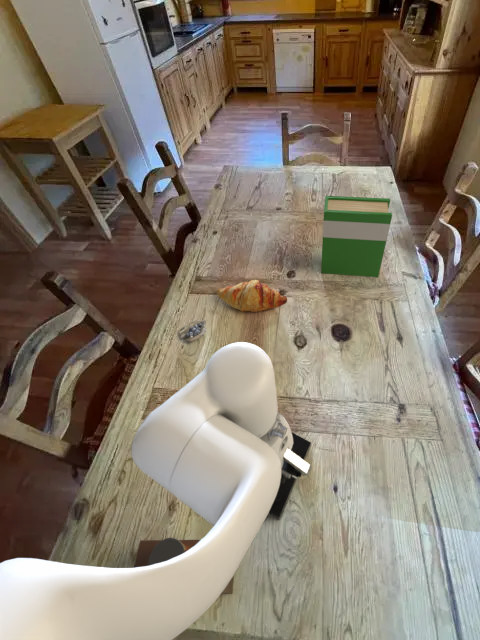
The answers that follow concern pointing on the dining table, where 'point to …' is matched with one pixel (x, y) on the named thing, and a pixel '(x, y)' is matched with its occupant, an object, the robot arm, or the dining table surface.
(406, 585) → the dining table surface
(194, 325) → the blueberries
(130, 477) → the dining table surface
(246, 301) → the croissant
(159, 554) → the spice bottle
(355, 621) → the dining table surface
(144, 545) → the shelf
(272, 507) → the hob
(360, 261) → the hardback book
